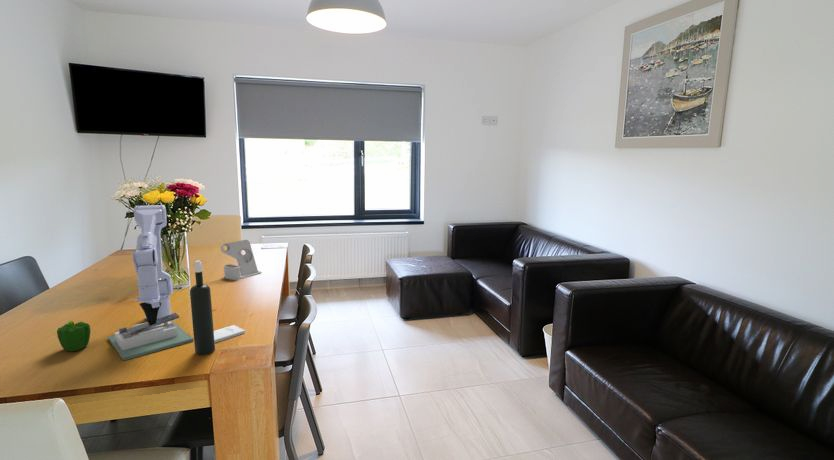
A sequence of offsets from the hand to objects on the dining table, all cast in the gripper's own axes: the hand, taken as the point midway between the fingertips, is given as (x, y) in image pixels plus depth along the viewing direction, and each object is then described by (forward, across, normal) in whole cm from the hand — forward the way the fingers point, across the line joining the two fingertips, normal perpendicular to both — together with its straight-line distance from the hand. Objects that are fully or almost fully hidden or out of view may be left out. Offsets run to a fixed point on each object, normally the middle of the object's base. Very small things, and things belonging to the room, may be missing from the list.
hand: (152, 322), depth 145 cm
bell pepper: (+6, -10, -20) cm, 23 cm away
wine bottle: (+6, +22, +9) cm, 25 cm away
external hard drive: (+7, +13, +18) cm, 23 cm away
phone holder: (+6, -58, +56) cm, 81 cm away
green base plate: (+6, 0, -1) cm, 6 cm away
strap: (+1, 0, 0) cm, 1 cm away
